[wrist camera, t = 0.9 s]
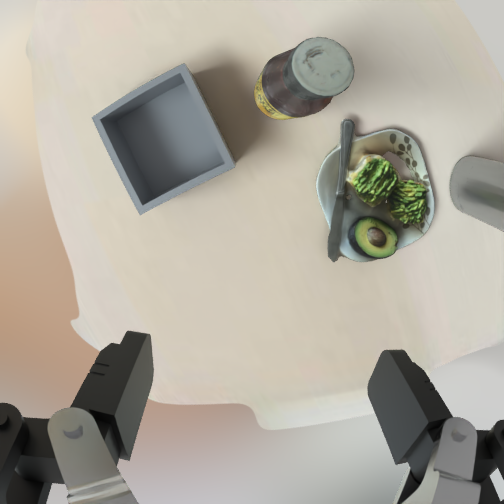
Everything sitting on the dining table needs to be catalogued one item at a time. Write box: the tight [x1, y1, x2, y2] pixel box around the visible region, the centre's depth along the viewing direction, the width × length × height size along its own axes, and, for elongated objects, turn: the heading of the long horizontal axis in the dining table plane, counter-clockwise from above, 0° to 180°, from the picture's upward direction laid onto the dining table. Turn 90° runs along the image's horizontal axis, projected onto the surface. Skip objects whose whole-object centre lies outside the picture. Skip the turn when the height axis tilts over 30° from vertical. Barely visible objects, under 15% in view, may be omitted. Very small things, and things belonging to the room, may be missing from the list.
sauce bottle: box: [254, 37, 354, 120], centre depth 25 cm, size 7×6×20 cm
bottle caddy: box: [92, 64, 236, 215], centre depth 32 cm, size 12×13×6 cm
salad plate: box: [316, 119, 435, 262], centre depth 37 cm, size 19×18×5 cm
